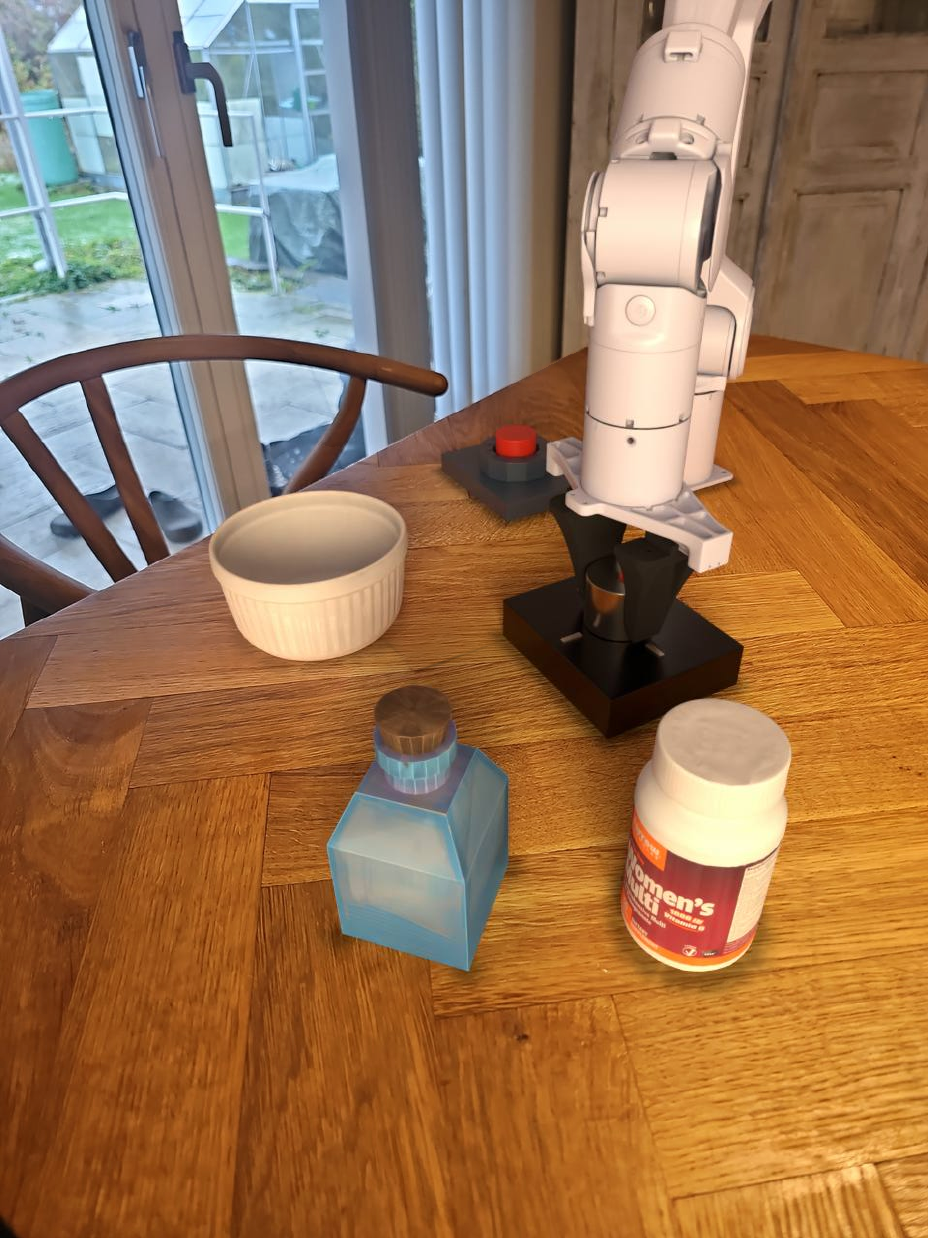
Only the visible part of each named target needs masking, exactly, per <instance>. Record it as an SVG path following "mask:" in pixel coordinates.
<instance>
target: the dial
mask: <svg viewBox="0 0 928 1238" xmlns="http://www.w3.org/2000/svg"><path fill="white" fill-rule="evenodd" d="M584 624H585V626H586V627H587V629H588V630H589V631H591V632H592V633H593V634H595V635H597V636H599V637H601V638H604V639H607V640H612V641H631V640H630V639H629V638H628V637H627V634H626V629H625V588H624V581H623V576H622V572H621V569H620V566H619V563H618V561H617V558H616V556H614V557H607V558H603V559H600V560H597V561H595V562H594V563H592V564H591V565H590V566H589V568H588V569H587V573H586V587H585V603H584Z"/></svg>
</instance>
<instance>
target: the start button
mask: <svg viewBox="0 0 928 1238" xmlns="http://www.w3.org/2000/svg"><path fill="white" fill-rule="evenodd" d="M536 435H537V431H536V430H535V429H534V428H533V427H531V426H527V425H522V424H521V425H520V424H510V425H505V426H502V427H499V428H498V429H497V430H496V431H495V434H494V436H495V444H496V453H497V454H498V455H501V456H506V457H525V456H529V455H533V454H535V452H536Z"/></svg>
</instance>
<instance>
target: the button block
mask: <svg viewBox="0 0 928 1238" xmlns="http://www.w3.org/2000/svg"><path fill="white" fill-rule="evenodd" d="M550 442H551V441H549V440H548V439H546V438H544V437H543V436H541V435H537V434H536V452H535V454H533V455H529V456H525V457H506V456H501V455H498V454H497V453H496V444H495V435H491V436H489V437H488V438H486V439H485V440H483V441H482V442H481V443H478V444H475V445H471V446H467V447H461V448H459V449H455V450H451V451H447V452H442V453H441V454H440V457H441V458H440V461H441V463H440V464H441V471H443V473H445V474H446V475H448V476H449V477H450V478H451V479H452V480H454V482H456V483H458V484H459V485H460V486H461V487H462V488H464V490H466V491H468V492H469V493H470V494H471V495H473V496H474V497H475V498H476V499H477V500H479V501H480V502H482V504H484V505H485V506H486V507H488V508H489V509H490V510H491V511H493V512H494V513H495V514H496V515H498V516H499V517H500V518H501V519H503V520H504V521H505V522H507V523H509V522H512V521H515V520H519V519H522V518H526V517H529V516H533V515H535V514H540V513H543V512H546V511H550V510H549V500H550V499H551V498H552V497H554V496H556V495H559V494H563V493H566V489H567V488H569V484H570V483H569V482H568V480H567V478H566V476H565V475H564V474H562V475H560V476H554V475H552V474H551V473H549V472H548V471H546V461H547V443H550Z"/></svg>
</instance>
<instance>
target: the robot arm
mask: <svg viewBox="0 0 928 1238" xmlns="http://www.w3.org/2000/svg"><path fill="white" fill-rule="evenodd" d="M772 1H773V0H665V2H664V7H663V8H664V10H663V17H662V25H661V29H660V30H658V31H657V32H655V33H654V34H652V35H651V36H649V38H648V39H647V40H646V41H644V43H643V44H642V45H641V46H640V48H639V49H638V50H637V52H636V54H635V56H634V58H633V61H632V64H631V69H630V71H629V76H628V81H627V85H626V89H625V94H624V98H623V102H622V106H621V110H620V115H619V119H618V124H617V128H616V131H615V136H614V140H613V144H612V149H611V154H610V158H609V161H608V165H607V167H606V169H605V171H601V172H600V171H599V170H594V171H593V172H592V173H591V174H590V177H589V180H588V181H587V182H588V183H587V186H586V191H585V196H584V200H583V204H582V210H581V220H580V233H579V250H580V251H579V254H580V266H581V267H580V268H581V269H580V270H581V276H582V285H583V306H582V316H583V324H584V325H587V326H588V327H589V330H588V331H589V334H588V342H587V343H588V344H587V345H588V346H587V361H586V364H587V365H586V382H585V397H584V398H585V399H584V415H583V419H584V420H583V437H582V440H580V439H577V438H576V437H574V436H569V437H566V438H562V439H558V440H554V441H549V442H550V443H547V461H546V471H548V472H549V473H551V474H552V475H554V476H560V475H562V474H564V475H565V476H566V478H567V480H568V482H569V483H570V484H569V488H567V489H566V493H563V494H559V495H556V496H554V497H552V498H551V499H550V500H549V510H548V511H550V513H551V515H552V516H553V518H554V520H555V522H556V523H557V525H558V527H559V529H560V532H561V534H562V536H563V538H564V541H565V544H566V547H567V550H568V554H569V557H570V561H571V565H572V568H573V569H572V570H573V573H574V576H575V579H576V583H577V588H578V592H579V595H580V598H581V599H582V600H583V601H584V602H585V587H586V573H587V569H588V568H589V566H590V565H591V564H592V563H594V562H595V561H597V560H600V559H603V558H607V557H614V556H616V558H617V561H618V563H619V566H620V569H621V572H622V576H623V581H624V588H625V629H626V634H627V637H628V638H629V639H630V640H631V641H632V642H635V643H636V642H639V641H641V640H644V639H647V638H649V637H652V636H654V635H657V634H659V633H660V630H661V628H662V626H663V623H664V621H665V619H666V617H667V614H668V612H669V610H670V608H671V606H672V604H673V602H674V600H675V598H678V595H679V593H680V591H681V590H682V588H683V587H684V586H685V584H686V582H688V580H689V578H691V576H692V575H693V573H694V572H696V573H698V574H702V573H705V572H707V571H711V570H714V569H717V568H719V567H721V566H724V565H727V564H729V559H730V554H731V548H732V543H733V541H732V540H733V537H734V532H733V530H731V529H729V528H727V527H726V526H724V525H723V524H722V523H720V522H719V521H718V520H717V519H716V518H715V517H714V516H713V515H712V513H711V512H710V511H709V509H708V508H707V507H706V506H705V505H704V503H703V502H702V501H701V500H700V499H699V498H698V496H697V495H696V494H695V491H699V490H701V489H705V488H709V487H712V486H715V485H718V484H722V483H723V482H724V483H725V482H728V481H731V480H732V479H733V478H734V474H733V472H732V471H729V470H727V469H726V468H723V467H722V466H720V465H717V464H715V463H714V462H715V455H716V449H717V442H718V435H719V430H720V423H721V416H722V409H723V404H724V397H725V390H726V387H727V384H728V381H731V382H732V381H733V382H734V381H736V380H737V379H738V378H739V377H741V376H742V375H743V373H744V370H745V364H746V357H747V351H748V347H749V340H750V334H751V327H752V321H753V316H754V309H755V308H754V307H753V306H754V305H753V304H754V298H755V293H756V287H755V286H754V285H753V283H754V281H753V279H752V278H751V277H750V276H749V275H748V274H747V273H746V272H745V271H744V270H742V268H741V267H739V266H738V265H737V264H736V263H734V262H733V261H732V259H730V258H729V257H728V256H727V255H726V249H727V241H728V235H729V228H730V219H731V213H732V205H733V199H734V191H735V184H736V175H737V169H738V162H739V153H740V146H741V139H742V132H743V125H744V118H745V112H746V105H747V104H746V103H747V96H748V89H749V81H750V75H751V66H752V60H753V52H754V44H755V38H756V34H757V32H758V28H759V27H760V24H761V22H762V20H763V18H764V16H765V13H766V11H767V9H768V6H769V4H770V3H771V2H772ZM628 525H629V526H632V527H634V528H637V529H640V530H642V531H644V537H642V536H640V537H639V536H638V537H637V538H633V539H631V540H627V541H624V540H623V539H624V536H625V533H626V529H627V526H628ZM623 541H624V542H623Z"/></svg>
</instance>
